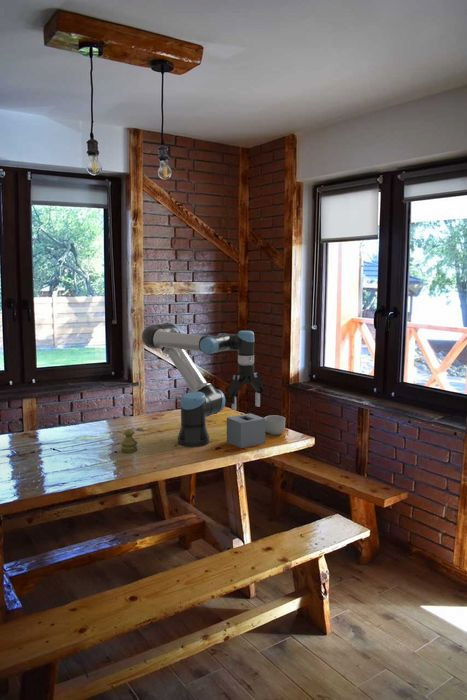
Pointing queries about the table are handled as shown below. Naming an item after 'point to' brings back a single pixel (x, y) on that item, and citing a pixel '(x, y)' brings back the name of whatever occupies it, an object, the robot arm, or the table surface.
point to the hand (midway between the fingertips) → (246, 408)
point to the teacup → (274, 424)
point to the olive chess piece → (129, 442)
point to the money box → (245, 430)
